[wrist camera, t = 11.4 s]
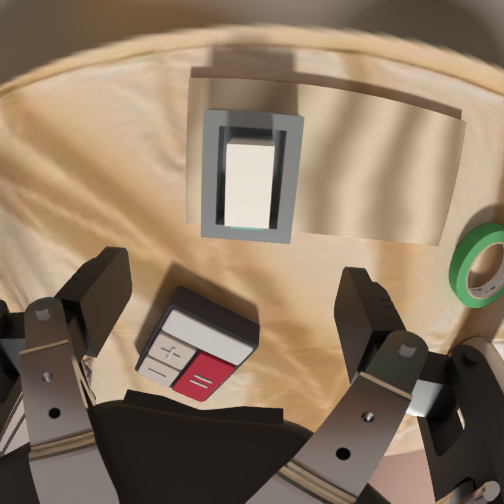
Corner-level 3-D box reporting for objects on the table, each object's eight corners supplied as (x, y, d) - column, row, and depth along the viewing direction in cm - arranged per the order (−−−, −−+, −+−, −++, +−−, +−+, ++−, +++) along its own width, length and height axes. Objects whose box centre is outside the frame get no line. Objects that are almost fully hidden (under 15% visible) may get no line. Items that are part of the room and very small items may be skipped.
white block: (272, 136, 26) (274, 146, 20) (267, 205, 29) (268, 232, 23) (234, 134, 26) (226, 143, 20) (232, 203, 29) (224, 229, 23)
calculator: (132, 374, 39) (169, 307, 32) (141, 352, 43) (179, 283, 36) (203, 406, 41) (259, 351, 34) (208, 383, 45) (261, 325, 38)
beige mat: (461, 120, 25) (466, 121, 24) (434, 242, 32) (438, 246, 31) (191, 78, 25) (189, 77, 24) (188, 219, 32) (186, 223, 31)
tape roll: (439, 301, 36) (447, 314, 33) (456, 222, 31) (468, 232, 28) (498, 292, 35) (507, 302, 33) (517, 220, 30) (529, 229, 28)
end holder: (298, 114, 26) (304, 116, 22) (286, 223, 30) (289, 244, 26) (213, 108, 26) (204, 109, 22) (209, 217, 30) (200, 236, 26)
